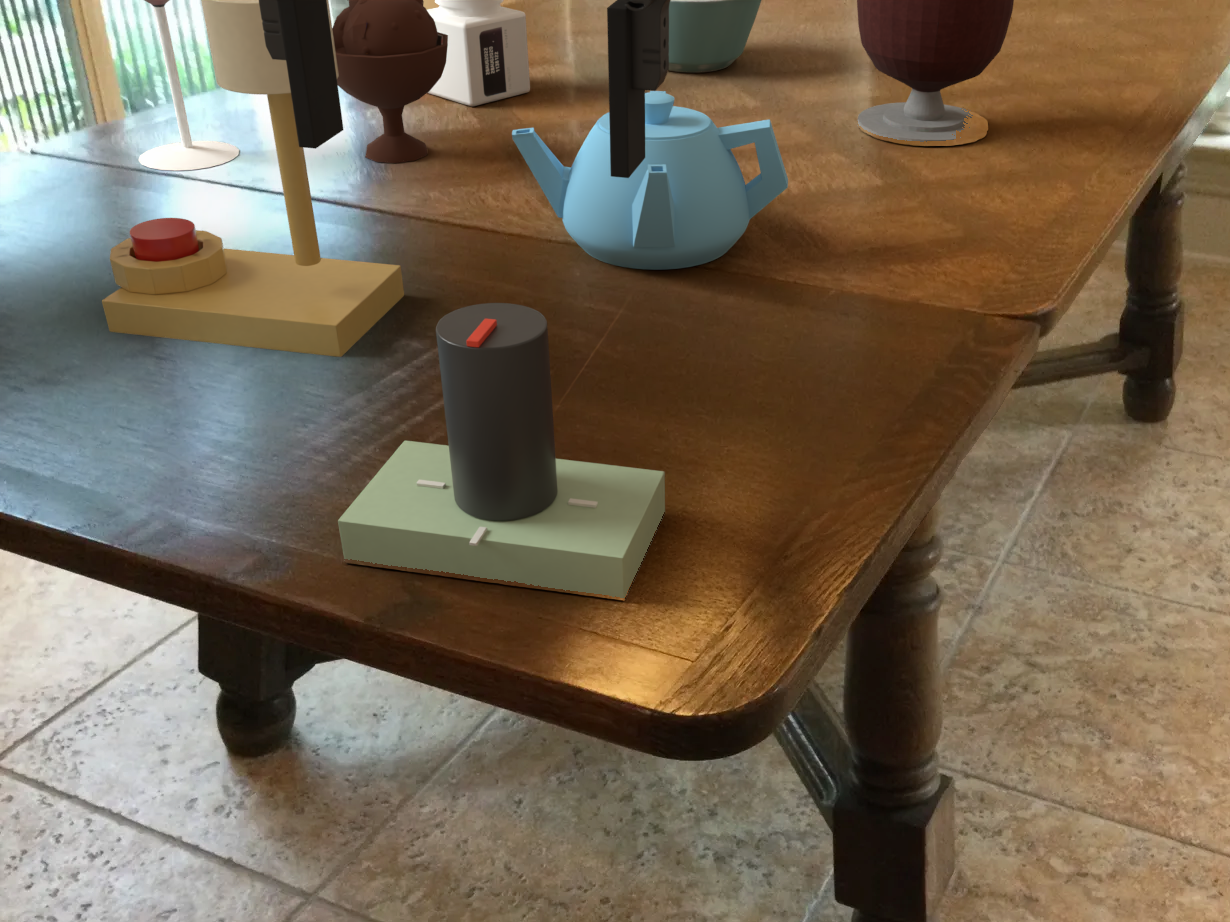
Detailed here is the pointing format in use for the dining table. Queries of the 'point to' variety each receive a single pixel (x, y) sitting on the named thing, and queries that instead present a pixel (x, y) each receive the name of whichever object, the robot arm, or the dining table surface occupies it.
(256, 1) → the lamp
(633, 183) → the teapot
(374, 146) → the ice cream bowl
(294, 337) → the lamp base
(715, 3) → the bowl
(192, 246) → the lamp switch
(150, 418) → the dining table surface
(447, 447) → the dimmer panel
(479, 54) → the container
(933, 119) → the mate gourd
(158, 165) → the wineglass
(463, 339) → the dimmer knob
